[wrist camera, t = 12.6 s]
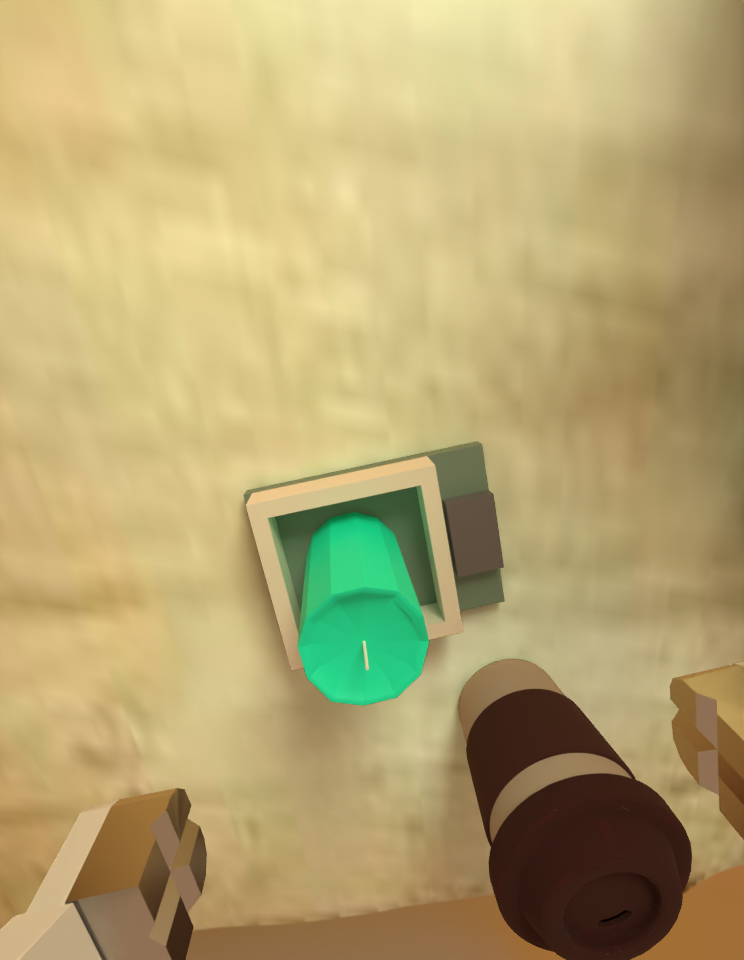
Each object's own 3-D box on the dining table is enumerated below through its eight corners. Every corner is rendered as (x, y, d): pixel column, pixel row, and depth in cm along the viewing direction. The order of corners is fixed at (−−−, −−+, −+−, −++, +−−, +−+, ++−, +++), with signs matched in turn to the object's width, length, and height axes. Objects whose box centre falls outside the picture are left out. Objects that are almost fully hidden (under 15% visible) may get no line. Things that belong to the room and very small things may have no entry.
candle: (369, 613, 34) (391, 749, 23) (289, 573, 33) (269, 695, 22) (417, 539, 33) (465, 642, 22) (336, 495, 32) (341, 579, 21)
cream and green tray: (477, 441, 33) (494, 452, 30) (499, 594, 36) (517, 620, 33) (246, 490, 33) (237, 507, 29) (287, 641, 36) (283, 672, 32)
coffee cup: (454, 632, 36) (537, 821, 22) (585, 646, 38) (747, 834, 23) (427, 750, 39) (487, 991, 24) (552, 760, 40) (679, 995, 25)
